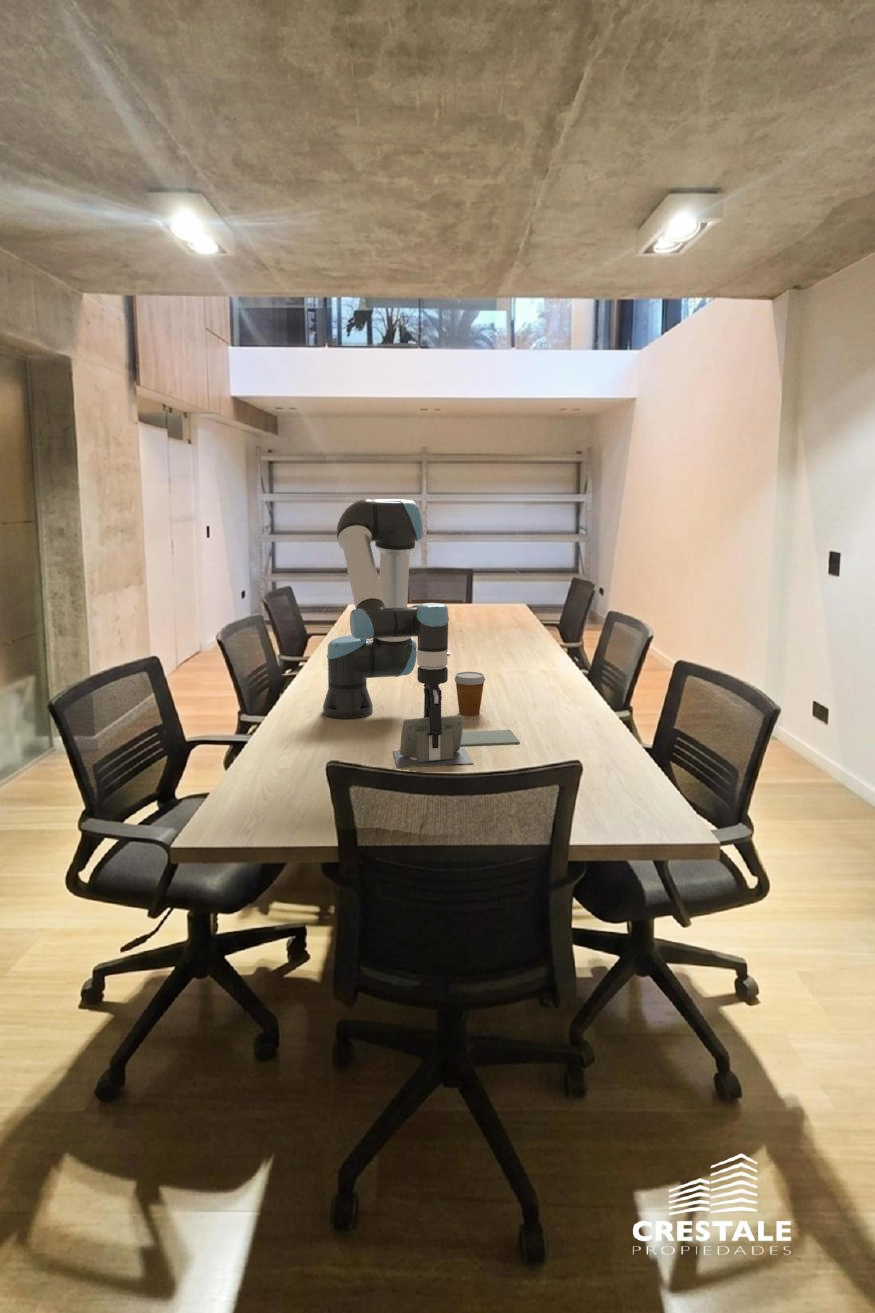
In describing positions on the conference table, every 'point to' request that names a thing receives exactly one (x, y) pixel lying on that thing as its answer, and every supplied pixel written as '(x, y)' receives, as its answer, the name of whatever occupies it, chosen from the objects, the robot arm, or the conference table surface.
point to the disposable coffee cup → (469, 692)
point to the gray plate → (411, 761)
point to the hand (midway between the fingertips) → (432, 754)
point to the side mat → (488, 738)
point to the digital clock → (418, 741)
